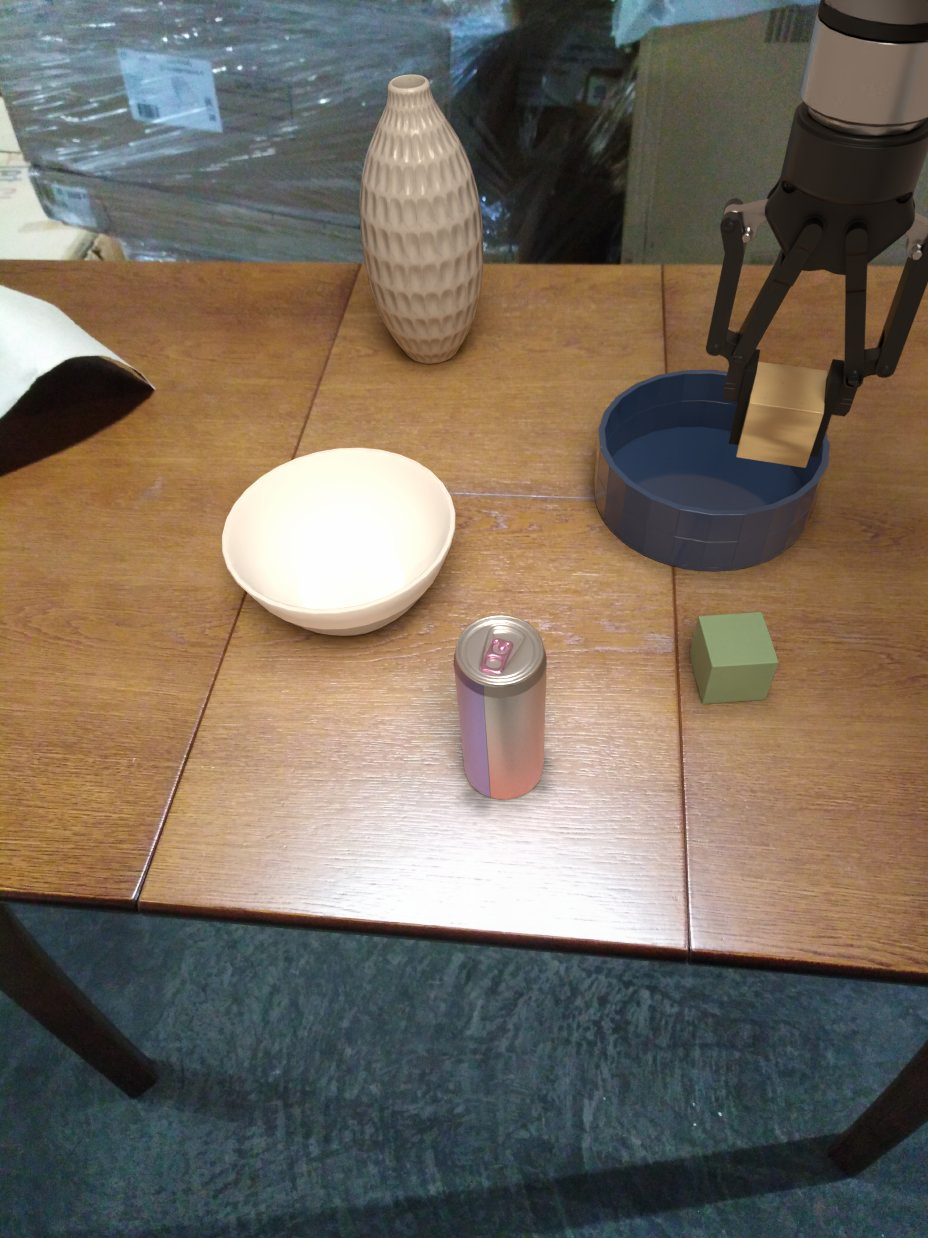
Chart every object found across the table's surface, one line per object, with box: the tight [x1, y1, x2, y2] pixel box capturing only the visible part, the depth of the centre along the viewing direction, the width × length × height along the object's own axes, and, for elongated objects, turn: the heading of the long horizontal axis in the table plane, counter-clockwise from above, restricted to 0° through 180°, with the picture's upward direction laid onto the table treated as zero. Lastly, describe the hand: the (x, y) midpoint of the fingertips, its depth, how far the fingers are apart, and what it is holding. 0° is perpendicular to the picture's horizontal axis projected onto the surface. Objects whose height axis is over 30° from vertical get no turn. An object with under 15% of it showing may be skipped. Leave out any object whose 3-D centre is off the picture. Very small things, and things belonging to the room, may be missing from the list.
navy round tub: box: [593, 369, 831, 572], centre depth 83 cm, size 20×20×7 cm
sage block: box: [689, 611, 780, 705], centre depth 70 cm, size 5×5×5 cm
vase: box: [358, 74, 485, 365], centre depth 93 cm, size 13×13×28 cm
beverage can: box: [453, 614, 548, 800], centre depth 62 cm, size 6×6×15 cm
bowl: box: [221, 447, 457, 637], centre depth 77 cm, size 19×20×8 cm
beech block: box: [736, 361, 828, 468], centre depth 65 cm, size 5×5×5 cm
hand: (774, 438), depth 67 cm, fingers closed on beech block, 5 cm apart
